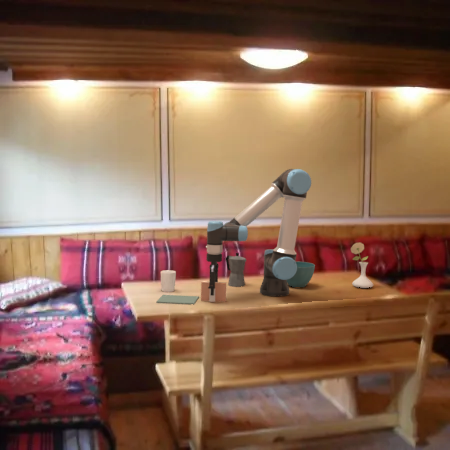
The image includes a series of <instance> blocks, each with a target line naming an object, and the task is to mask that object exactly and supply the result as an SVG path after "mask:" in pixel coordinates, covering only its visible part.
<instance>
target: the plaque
mask: <svg viewBox="0 0 450 450" xmlns="http://www.w3.org/2000/svg"><path fill="white" fill-rule="evenodd" d="M211 286H213V285H211ZM208 287H209V281H203V280H202V281H201V284H200V300H201V301H204V302H206V301H207V302H209V293H210V289H209V288H208ZM226 301H227V282H224V281H223V282H221V281H218V282H215V302H223V303H224V302H226Z"/></svg>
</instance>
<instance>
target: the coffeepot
mask: <svg viewBox="0 0 450 450" xmlns="http://www.w3.org/2000/svg"><path fill="white" fill-rule="evenodd" d="M239 254H240V253H239V252H236V253H235V256H232V255H226V257H225V263H226V267H227V270H228V271H230V272H229V273H230V274H229V277H228V284H227V285H228V286H229V287H231V288H232V287H233V288H241V286H242V287H245V286H246V282H245V276H244V271H245V266H246V262H247V258H245V257H243V256H240V255H239Z"/></svg>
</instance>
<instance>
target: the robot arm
mask: <svg viewBox="0 0 450 450" xmlns="http://www.w3.org/2000/svg"><path fill="white" fill-rule="evenodd" d="M311 186H312V178H311V176H310V174H309V173H308V172H306V170H303V169H300V168H290V169H289V168H288V169H287V170H285V171H283V172H282V173H281V174H280V175H279V176H278V177H277V178H276V179H275V180H274V181H272V182H271V184H270V187H268V188H267V189H266V190H265V191H263V192H262V193H261V194H260V195H259V196H258V197H257V198H255V199H254V200H253V201H252V202H251V203H250V204H248V205H247V206H246V207H244V209H242V211H240V212H239V213H238V214H237V215H235V217H233V218H232V219H231V220H229V221H228V222H226V223H223V221H221V220H220V221H219V220H210V221H208V222H207V230H206V246H205V248H206V262H210V263H211V264H210V265H209V281H208V282H209V287H208V288H209V289H210V293H209V301H208V302H210V303H216V301H215V282H219V280H218V279H219V268H220V267H219V263H221V262H223V254H222V253H223V242H247V240H248V236H249V233H248V232H249V230H248V226H249V225H250V224H251V223H253V221H255V220H256V219H257V218H258V217H260V216H261V215H262V214H263V213H264V212H266V211H267V210H269V208H270V207H272V206H273V205H274V204H275V203H276V202H278V200H280V199H281V198H282V199H283V198H284V203H283V207H282V214H281V215H282V216H281V221H280V226H279V230H278V231H279V232H278V239H277V245H276V247H275V248H274V249H270V248H269V249H265V250H264V254H263V257H264V258H263V259H264V260H263V279H262V283H261V285H260V287H259V294H261V295H264V296H269V297H285V296H289V294H290V286H289V284H288V283H287V279H290V278H292V277H293V276H294V275H295V273H296V271H297V264H296V262H297V252H296V251H295V247H296V241H297V235H298V230H299V224H300V218H301V211H302V207H303V206H302V205H303V201H305V200H306V199H307V194H308V191H310V189H311ZM211 285H213V286H211Z"/></svg>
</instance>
